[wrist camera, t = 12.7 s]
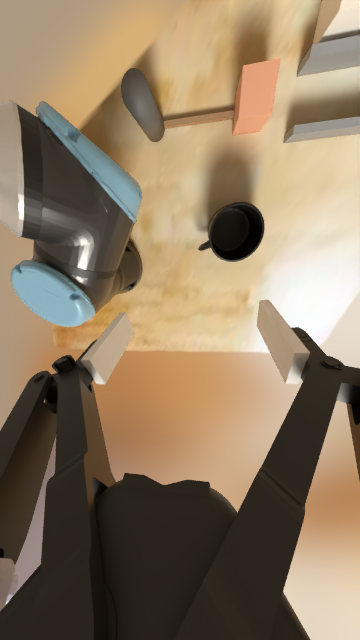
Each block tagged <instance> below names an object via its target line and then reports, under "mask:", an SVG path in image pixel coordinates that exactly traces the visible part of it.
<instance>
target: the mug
mask: <svg viewBox="0 0 360 640" xmlns="http://www.w3.org/2000/svg"><path fill="white" fill-rule="evenodd" d="M263 234H264V220H263V216H262V214H261V212H260V211H259V210H258V209H257V208H256V207H255V206H254V205H252V204H250V203H247V202H236V203H233V204H230V205H228V206H225V207H223V208H222V209H220V210H219V211H218V212H217V213H216V214H215V215H214V216H213V218H212V219H211V222H210V224H209V228H208V238H209V240H208V241H207V242H205V243H204V244H202V245H201V246H200V247H199V248H198V249H199V250H200V251H203V250H205V249H208V248H211V249H212V251H213V252H214V254H215V255H216V256H217V257H219V258H220V259H222V260H224V261H228V262H236V261H240V260H243V259H245V258H247V257H248V256H250V255H251V254H252V253H253V252H254V251H255V250H256V249H257V248H258V246H259V244H260V243H261V241H262V238H263Z"/></svg>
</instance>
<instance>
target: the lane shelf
mask: <svg viewBox="0 0 360 640" xmlns="http://www.w3.org/2000/svg"><path fill="white" fill-rule="evenodd" d="M355 66H360V35H357V36H352V37H347V38H342V39H337V40H332V41H327V42H322V43H316V44H312V46H311V47H310V49H309V50H308V52H307V53H306V55H305V57H304V58H303V60H302V61H301V63H300V65H299V68H298V73H297V76H303V75H309V74H315V73H320V72H326V71H332V70H338V69H344V68H349V67H355ZM353 134H360V116H358V117H350V118H343V119H336V120H328V121H321V122H314V123H306V124H299V125H294V126H293V127H292V128H291V129H290V130H289V131H288V132H287V133H286V134H285V138H284V143H288V142H296V141H304V140H313V139H321V138H329V137H337V136H345V135H353Z"/></svg>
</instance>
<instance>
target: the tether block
mask: <svg viewBox="0 0 360 640" xmlns="http://www.w3.org/2000/svg"><path fill="white" fill-rule="evenodd" d="M280 59H281V58H279V59H274V60H269V61H264V62H258V63H253V64H248V65H243V69H242V72H241V76H240V80H239V84H238V88H237V91H236V97H235V110H231V111H225V112H218V113H212V114H205V115H199V116H192V117H186V118H180V119H173V120H167V121H163V118H162V116H161V114H160V111H159V109H158V107H157V104H156V102H155V100H154V97H153V95H152V92H151V90H150V88H149V85H148V83H147V81H146V78H145V76H144V75H143V73H142V72H141V71H140V70H138V69H136V68H131V69H129V70H128V71H127V72H126V73H125V75H124V77H123V79H122V84H121V93H122V98H123V101H124V104H125V106H126V107H127V109H128V110H129V111H130V113H131V114H132V116H133V117H134V118H135V120H136V121H137V123H138V124H139V125H140V127H141V128H142V130H143V131H144V132H145V134H146V135H147V137H148V138H149V139H150V140H151V141H153V142H158V141H160V140H161V139H162V137H163V135H164V130H165V129H167V128H174V127H180V126H187V125H194V124H201V123H207V122H214V121H221V120H228V119H234V122H233V135H238V134H245V133H253V132H260V130H261V129H262V127H263V126H264V124H265V123H266V121H267V120H268V118H269V117H270V115H271V114H272V109H273V103H274V97H275V90H276V84H277V78H278V72H279V66H280Z"/></svg>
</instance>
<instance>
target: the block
mask: <svg viewBox="0 0 360 640" xmlns="http://www.w3.org/2000/svg"><path fill="white" fill-rule="evenodd" d="M359 32H360V0H322V2H321V7H320V12H319V16H318V21H317V25H316V30H315V35H314V39H313V44H316V43H322V42H327V41H332V40H337V39H342V38H347V37H352V36H356V35H357V34H358V33H359Z"/></svg>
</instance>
